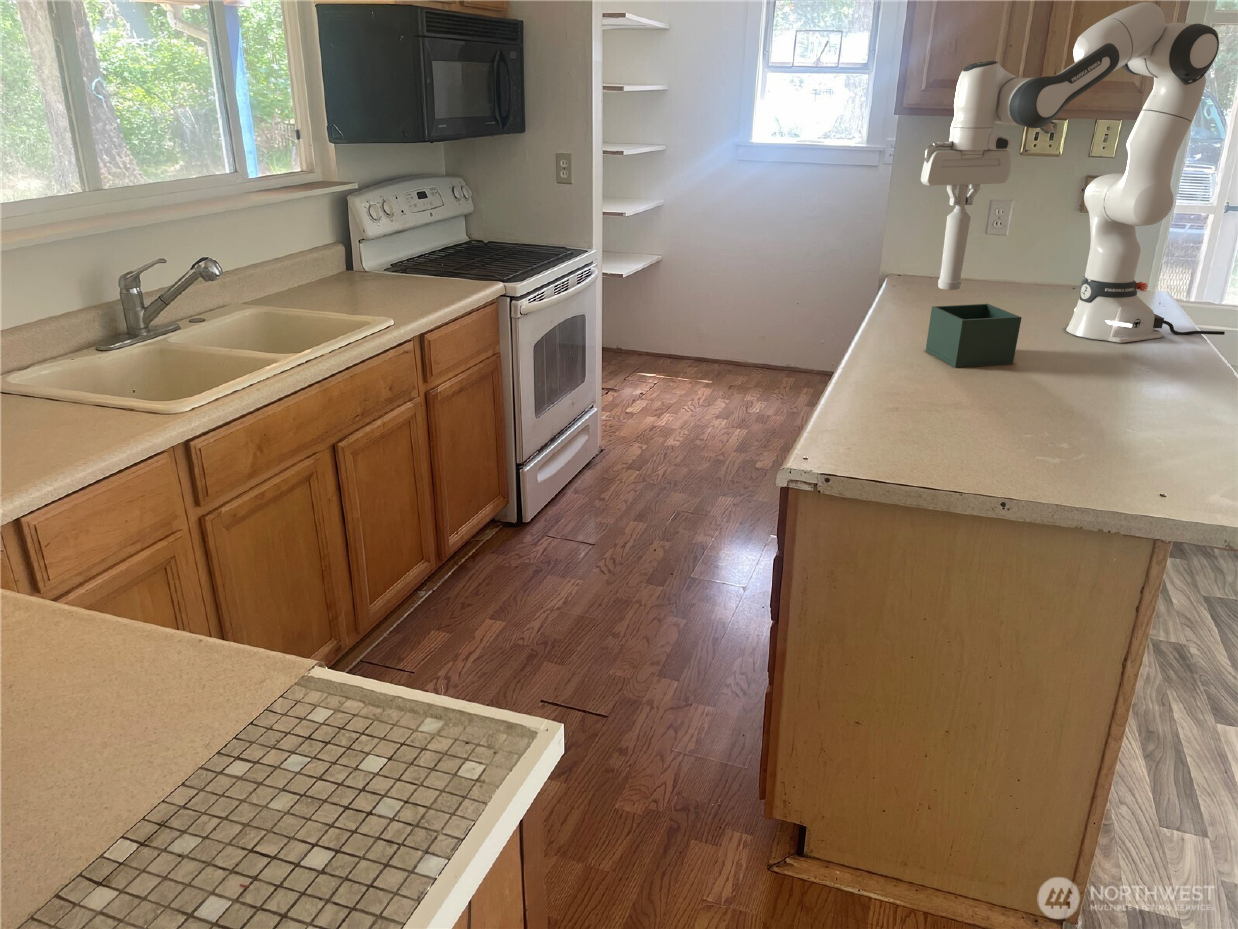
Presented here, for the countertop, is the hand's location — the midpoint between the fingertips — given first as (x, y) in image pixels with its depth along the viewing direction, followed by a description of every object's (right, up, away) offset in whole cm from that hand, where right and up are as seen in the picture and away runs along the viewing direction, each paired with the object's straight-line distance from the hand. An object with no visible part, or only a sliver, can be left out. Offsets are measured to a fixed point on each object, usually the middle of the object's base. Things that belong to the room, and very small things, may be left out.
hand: (960, 204), depth 200 cm
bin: (+4, -34, +6) cm, 35 cm away
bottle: (0, -18, +8) cm, 19 cm away
